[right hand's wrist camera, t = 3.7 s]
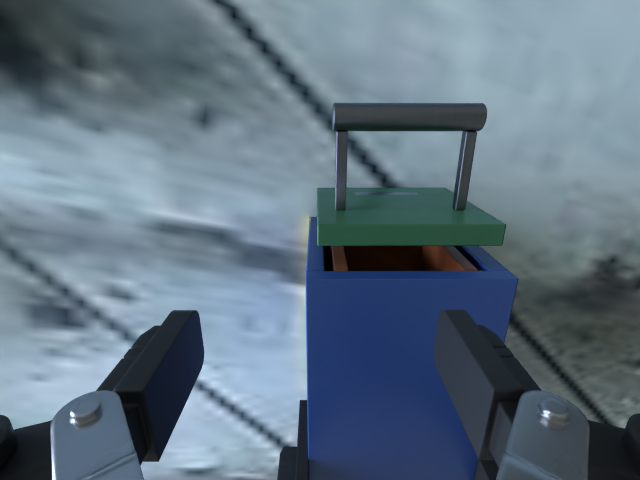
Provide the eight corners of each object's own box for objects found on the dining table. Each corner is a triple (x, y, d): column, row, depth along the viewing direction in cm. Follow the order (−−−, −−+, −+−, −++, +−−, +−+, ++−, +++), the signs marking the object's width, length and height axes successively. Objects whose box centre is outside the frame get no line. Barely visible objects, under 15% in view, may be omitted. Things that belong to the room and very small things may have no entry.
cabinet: (309, 217, 28) (305, 279, 18) (444, 216, 28) (519, 278, 18) (311, 387, 34) (308, 508, 24) (422, 387, 34) (468, 506, 24)
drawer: (316, 104, 24) (317, 101, 16) (456, 104, 24) (531, 101, 16) (317, 362, 32) (317, 453, 23) (423, 361, 32) (461, 452, 23)
